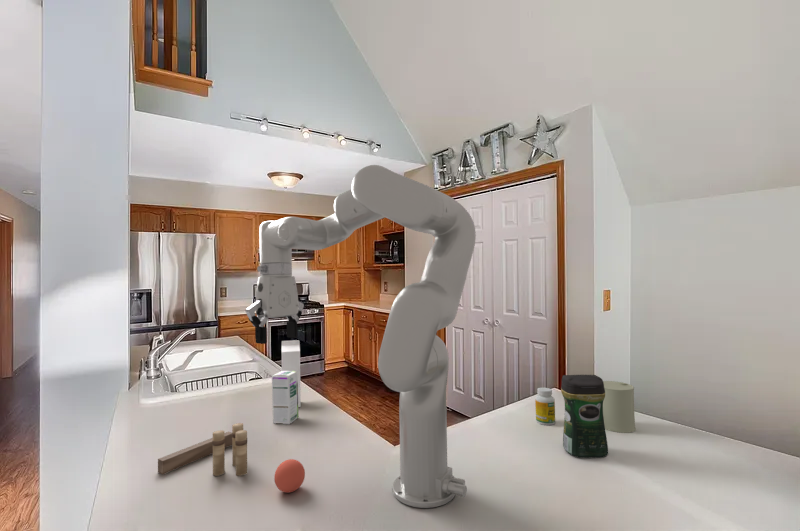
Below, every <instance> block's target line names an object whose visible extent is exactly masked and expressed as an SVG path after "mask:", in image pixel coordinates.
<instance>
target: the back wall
mask: <svg viewBox="0 0 800 531" xmlns="http://www.w3.org/2000/svg"><path fill="white" fill-rule="evenodd" d="M224 438H225V449H227V448H228V447H230V446H231V447H232V431H225V432H224ZM212 440H213V437H211V438H209V439H205V440H203V441H201V442H198V443H196V444H193V445H190V446H187V447H184V448H183V449H180V450H178V451H175V452H172V453H170V454H167V455H165V456H162V457H160V458H157V473H158V474H160V475H165V474H168V473H170V472H172V471H174V470H177V469H179V468H182V467H184V466H186V465H188V464H189V465H190V464H191V463H194V462H196V461H198V460H200V459H203V458H205V457H207V456H209V455H213V445H212Z"/></svg>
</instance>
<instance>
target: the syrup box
mask: <svg viewBox="0 0 800 531" xmlns="http://www.w3.org/2000/svg"><path fill="white" fill-rule="evenodd" d="M271 395H272V396H271V397H272V398H271V399H272V401H271V402H272V404H271V405H272V406H271V407H272V424H276V423H283V424H282V425H290V423H291V424H292V423H293V422H294V421H296V420H297V419H298V418H299V408H298V378H297V371H282V370H280V371H279V372H277V373H275V374H273V375H272V376H271Z"/></svg>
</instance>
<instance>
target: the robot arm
mask: <svg viewBox="0 0 800 531" xmlns="http://www.w3.org/2000/svg"><path fill="white" fill-rule="evenodd" d="M333 211H334V213H333V214H331V215H329V216H326V217H324V218H321V219H319V220H315V219H311V218H310V219H309V218H306V217H298V216H286V217H283V218H279V219H277V220H266V221H262V222H261V224H260V225H259V266H257V268H256V270H257V272H259V273H260V274H259V275H260V276H258V278H257V282H256V291H255V292H256V293H255V302H254V303H252V304H251V305H249V306H248V307H247V308H245V310H244V311H245V314H246V316H247V317H248V320H249V322H250V323H251V325H252V326H253V327H254V334H255V335H254V336H255V337H254V338H255V343H256V344H260V345H261V344H262V345H266V344H267V342H268V340H267V339H268V338H267V336H268V335H267V332H268V331H267V330H268V329H267V326H265V325H266V324H267V322H268V320H269V318H271V319H273V318H274V319H276V318H284V317H285V318H286V319H287V320H288V321H286V337H287V338H291V339H297V338H298V323H299V322H300V318H301V316H302V315H303V310H304V307H305V304H304V303H303V302H301V301H299V295H298V294H299V293H298V288H297V282H296V279H295V278H296V277H295V276H293V266H292V265H293V264H292V263H293V257H292V256H293V254H292V252H293V251H292V249H293V250H308V251H321V250H324V249H327V248H329V247H332V246H334V245H337V244H340V243H342V242H344V241H345V240H347V239H348V238H349V237H350V236H351V235H352V234H353V233H354V231H356V230H357V229H360V228H362V227H365V226H367V225H369V224H372V223H374V222H377V221H380V220H382V219H384V218H386V219H388V220H390V221H392V222H394V223H396V224H398V225H400V226H402V227H404V228H407V229H408V230H412V231H416V232H419V233H424V234H428V235H432V236H433V237H434V241H433V244H432V246H431V247H430V250H429V251H428V254H427V257H426V259H425V263H424V268H423V271H422V275H421V277H420V280H419V282H415V283H411V284H408V285H406V286H405V287H403V288H402V289H401V290H400V291H399V292H398V294H397V295H396V296H395V298H394V300H393V303H392V305H391V308H390V311H389V314H388V319H387V322H386V326H385V329H384V333H383V338H382V341H381V345H380V348H379V352H378V358H377V359H378V360H377V368H378V372H379V376H380V378H381V380H382V382H383V384H384V385H385V386H386V387H387V388H389V389H390V390H392V391H394V392H397V393H399V402H398V403H399V405H398V407H399V411H398V413H399V414H398V416H399V418H398V420H399V464H400V465H399V467H400V468H399V469H400V470H399V471H400V475H399V476H398V477H397V478H395V480H394V481H393V483H392V493H393V496H394V497H395V498H396V499H397V501H399V502H400V503H401V504H404V505H406V506H409V507H413V508H418V509H419V508H420V509H431V508H436V507H440V506H444V505H446V504H448V503H450V502H451V501H452V500H453V499H454V498H455V496H456V495H457V496H460V497H463V498H464V497H466V495H467V490H468V489H467V485H466V480H465V479H464V478H461V477H460V478H458V477H455V475H453V467H452V466H448V428H447V426H448V424H447V420H448V419H447V389H448V388H447V387H448V386H447V385H448V377H449V366H450V357H449V352H448V347H447V346H446V344H445V342H444V341H443V339H442V338H441V337H439V336H438V335H437V333H438V331H439V330H442V329H445V328H447V327H448V326H450V325H451V324H452V323H453V322H454V320H455V319H456V317H457V313H458V309H459V306H460V302H461V300H462V299H461V298H462V294H463V292H464V288H465V283H466V280H467V276H468V272H469V268H470V264H471V261H472V259H473V258H472V257H473V253H474V249H475V247H476V246H475V245H476V239H477V238H476V236H477V233H476V232H477V231H476V225H475V223H474V221H473V218H472V215H471V214H470V213H469V211H468V210H467V209H466V208H465V207H464V205H462V204H461V203H460V202H458V201H457V200H456V199H454V198H453V197H451V196H450V195H448V194H446V193H444V192H442V191H439V190H437V189H435V188H433V187H431V186H429V185H427V184H424V183H423V182H419V181H416V180H414V179H412V178H409V177H407V176H404V175H402V174H400V173H397V172H394V171H392V169H389V168H387V167H384V166H382V165H379V164H371V165H367V166H365V167H363V168H361V169H359V170H358V171H357V173H356V174H355V175H354V176H353V179H352V181H351V189H349V190H346V191H344V192H343V193H340V194H339V195H337V196H336V197H335V199H334V203H333Z"/></svg>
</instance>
